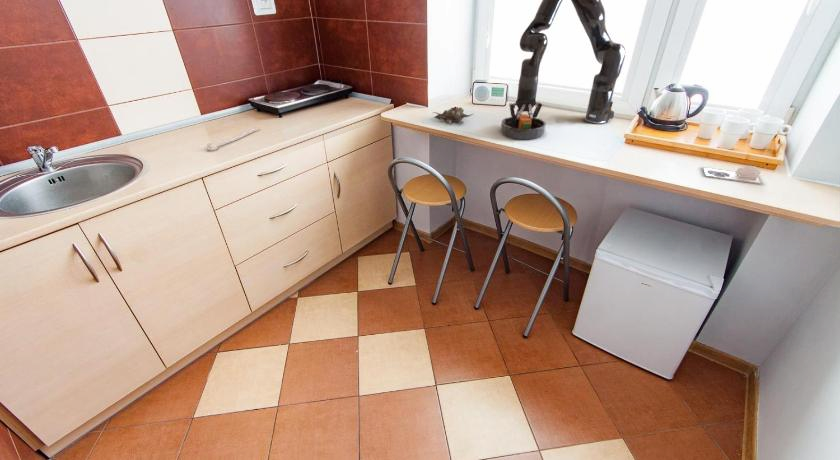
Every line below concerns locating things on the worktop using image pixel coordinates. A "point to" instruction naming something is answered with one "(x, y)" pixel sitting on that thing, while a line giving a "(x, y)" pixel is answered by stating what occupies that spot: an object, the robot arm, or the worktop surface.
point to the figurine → (452, 115)
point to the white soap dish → (736, 174)
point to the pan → (523, 134)
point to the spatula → (213, 145)
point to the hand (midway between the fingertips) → (522, 127)
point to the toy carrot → (524, 122)
